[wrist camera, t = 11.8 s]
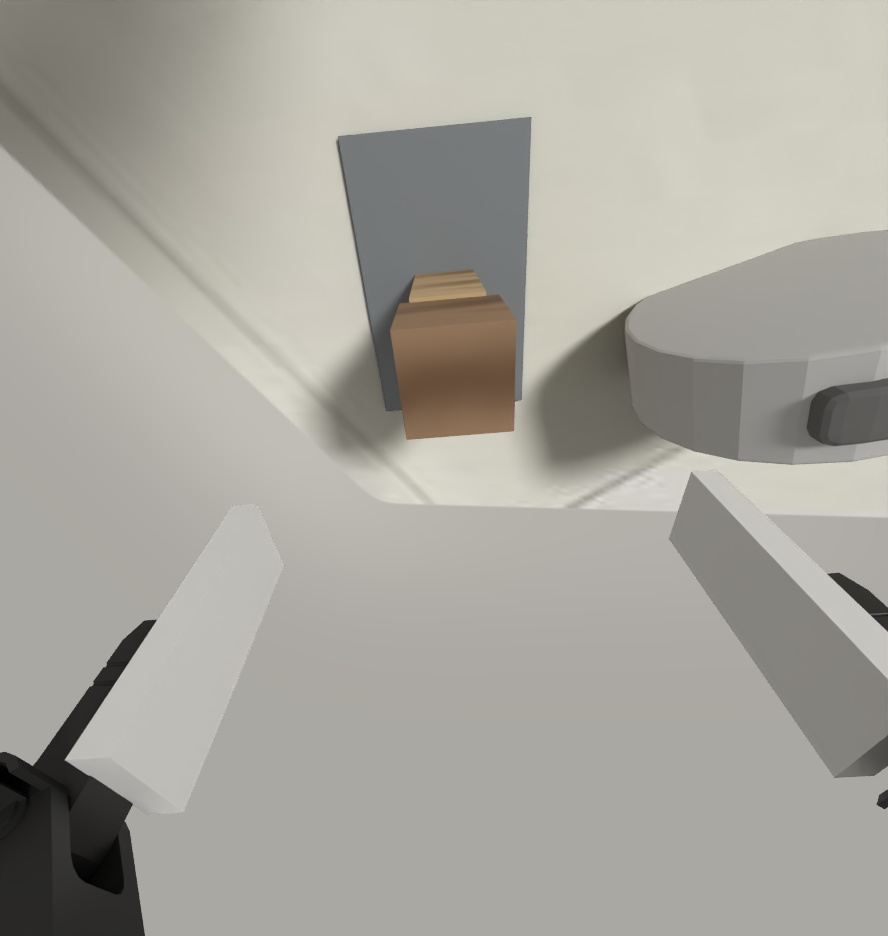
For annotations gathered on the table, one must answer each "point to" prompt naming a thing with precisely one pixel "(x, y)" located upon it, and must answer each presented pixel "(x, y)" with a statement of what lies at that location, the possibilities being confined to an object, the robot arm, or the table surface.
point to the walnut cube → (455, 366)
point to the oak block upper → (446, 290)
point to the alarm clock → (771, 355)
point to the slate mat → (439, 218)
